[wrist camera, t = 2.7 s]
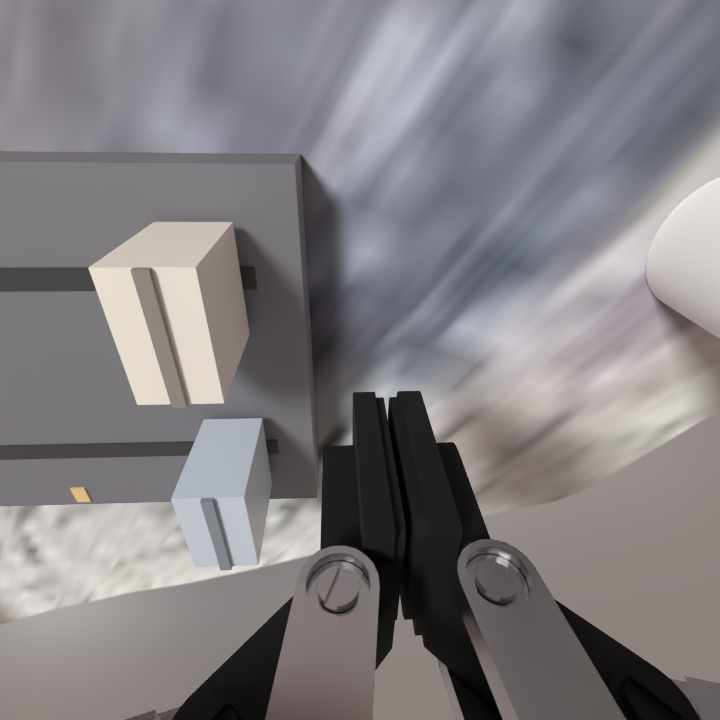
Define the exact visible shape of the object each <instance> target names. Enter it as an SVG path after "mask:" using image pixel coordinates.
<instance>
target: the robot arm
mask: <svg viewBox="0 0 720 720" xmlns="http://www.w3.org/2000/svg"><path fill="white" fill-rule="evenodd" d="M399 595H400V597H401V605H402V612H403V617H404V619H412V620H413V626H414V632H415V635H422V637H423V643H424V647H425V648H426V649H428V650H429V651H430V652H431V653H432V654H433V655H434V656H436V657H437V658H438V663H439V668H440V672H441V675H442V678H443V681H444V684H445V688H446V691H447V693H448V697H449V700H450V703H451V706H452V709H453V712H454V716H455V719H456V720H720V683H716V682H711V681H706V680H701V679H696V678H691V677H687V676H684V677H683V678H682V679H681V680H680V681H679V680H674V679H670V678H668V677H667V676H666V675H665V674H663V673H662V672H661V671H660V670H658V669H657V668H656V667H654V666H653V665H651V664H650V663H648V662H647V661H645V660H644V659H642V658H641V657H639V656H638V655H636V654H635V653H633V652H632V651H630V650H629V649H627V648H626V647H624V646H623V645H622V644H620V643H619V642H617V641H615V640H614V639H613V638H611V637H610V636H608V635H607V634H605V633H604V632H602V631H601V630H599V629H598V628H596V627H595V626H593V625H592V624H590V623H589V622H587V621H586V620H584V619H583V618H581V617H580V616H578V615H577V614H575V613H574V612H572V611H571V610H569V609H568V608H567V607H565V606H563V605H562V604H561V603H559V602H558V601H556V600H555V599H554V598H553V597H552V595H551V593H550V592H549V590H548V588H547V587H546V585H545V583H544V582H543V580H542V578H541V577H540V575H539V573H538V572H537V570H536V568H535V567H534V566H533V564H532V563H531V562H530V560H529V559H528V558H527V557H526V556H525V555H524V554H523V553H522V552H520V551H519V550H518V549H517V548H515V547H512V546H511V545H509V544H507V543H505V542H502V541H497V540H493V539H490V537H489V534H488V532H487V529H486V526H485V523H484V520H483V518H482V515H481V512H480V509H479V507H478V504H477V501H476V498H475V496H474V493H473V490H472V487H471V485H470V482H469V479H468V477H467V474H466V471H465V468H464V466H463V463H462V460H461V457H460V455H459V452H458V449H457V447H456V445H455V444H454V443H453V442H448V443H436V440H435V437H434V434H433V431H432V427H431V424H430V421H429V418H428V414H427V411H426V408H425V405H424V402H423V398H422V395H421V392H420V391H398V392H397V397H390V398H389V408H388V421H387V415H386V409H385V404H384V398H376V396H375V392H353V445H349V446H324V448H323V479H322V515H321V550H319V551H318V552H317V553H315V554H314V555H312V556H311V557H310V558H309V559H308V560H307V562H306V563H305V564H304V565H303V567H302V569H301V571H300V574H299V576H298V579H297V583H296V588H295V592H294V596H293V597H292V598H291V599H290V600H289V601H288V602H287V603H285V605H283V606H282V607H281V608H280V609H279V610H278V611H277V612H276V613H275V614H274V615H273V616H272V617H271V618H270V619H269V620H268V621H267V622H266V623H265V624H264V625H263V626H262V627H261V628H260V629H259V630H258V631H257V632H256V633H255V634H254V635H253V636H251V637H250V638H249V639H248V640H247V641H246V642H245V643H244V644H243V645H242V646H241V647H240V648H239V649H238V650H237V651H236V652H235V653H234V654H233V655H232V656H231V657H230V658H229V659H228V660H227V661H226V662H225V663H224V664H223V665H222V666H221V667H220V668H219V669H218V670H216V671H215V672H214V673H213V674H212V675H211V676H210V677H209V678H208V679H207V680H206V681H205V682H204V683H203V684H202V685H201V686H200V687H199V688H198V689H197V690H196V691H195V692H194V693H193V694H192V695H191V696H190V697H189V698H188V699H187V700H186V701H185V703H184V704H183V705H182V706H180V707H177V708H174V709H171V710H168V711H165V712H162V713H159V714H158V713H157V712H156V710H152V711H149V712H146V713H143V714H140V715H137V716H134V717H132V718H128V719H125V720H373V703H374V685H375V684H374V683H375V670H376V669H377V668H378V666H379V665H380V664H381V662H382V661H383V660H384V658H385V657H386V656H387V654H388V653H389V652H390V650H391V649H392V643H393V634H394V624H395V620H397V613H398V604H399Z"/></svg>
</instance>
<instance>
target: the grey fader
mask: <svg viewBox="0 0 720 720" xmlns="http://www.w3.org/2000/svg"><path fill="white" fill-rule="evenodd" d="M271 487H272V479H271V472H270V466H269V459H268V452H267V446H266V439H265V432H264V426H263V419H262V418H244V419H204V420H203V422H202V425H201V427H200V430H199V432H198V435H197V437H196V439H195V442H194V444H193V447H192V449H191V452H190V454H189V456H188V459H187V461H186V464H185V466H184V468H183V471H182V473H181V476H180V478H179V481H178V483H177V485H176V488H175V490H174V493H173V495H172V498H171V501H172V503H173V506H174V509H175V512H176V514H177V517H178V520H179V523H180V526H181V528H182V531H183V534H184V537H185V540H186V542H187V545H188V548H189V551H190V554H191V556H192V559H193V562H194V565H195V567H216V566H220V570H231V569H232V566H245V565H258V564H259V558H260V552H261V546H262V540H263V534H264V528H265V522H266V517H267V511H268V505H269V499H270V493H271Z"/></svg>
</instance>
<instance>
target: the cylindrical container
mask: <svg viewBox="0 0 720 720" xmlns="http://www.w3.org/2000/svg"><path fill="white" fill-rule="evenodd" d="M645 268H646V280H647V283H648V286H649V288H650V290H651V292H652V293H653V294H654V296H655V297H656V298H658V299H659V300H660V301H661V302H663V303H664V304H666V305H667V306H669V307H671V308H672V309H674V310H675V311H677V312H678V313H680V314H681V315H683V316H684V317H686V318H688V319H689V320H691V321H692V322H694V323H695V324H697V325H698V326H700V327H702V328H703V329H705V330H706V331H708V332H709V333H711V334H712V335H714V336H716V337H717V338H719V339H720V177H719V178H716V179H714V180H712V181H710V182H708V183H707V184H705V185H703V186H702V187H700V188H699V189H697V190H695V191H694V192H693V193H692V194H690V195H689V196H688V197H687V198H685V199H684V200H683V201H682V202H681V203H680V204H679V205H678V206H677V207H676V208H675V209H674V210H673V211H672V212H671V213H670V214H669V216H668V217H667V218H666V220H665V221H664V222H663V224H662V225H661V226H660V228H659V230H658V232H657V233H656V235H655V237H654V239H653V241H652V243H651V246H650V249H649V251H648V255H647V261H646V266H645Z"/></svg>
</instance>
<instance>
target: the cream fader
mask: <svg viewBox="0 0 720 720" xmlns="http://www.w3.org/2000/svg"><path fill="white" fill-rule="evenodd" d="M88 268H89V271H90V274H91V277H92V280H93V282H94V285H95V288H96V291H97V294H98V296H99V299H100V302H101V305H102V308H103V310H104V313H105V316H106V319H107V321H108V324H109V327H110V330H111V333H112V335H113V338H114V341H115V344H116V347H117V349H118V352H119V355H120V358H121V361H122V363H123V366H124V369H125V372H126V375H127V377H128V380H129V383H130V386H131V389H132V391H133V394H134V397H135V400H136V403H137V405H165V404H171V407H172V408H187V406H188V404H223V403H225V400H226V397H227V395H228V392H229V389H230V386H231V384H232V381H233V378H234V375H235V373H236V370H237V367H238V365H239V362H240V359H241V356H242V354H243V351H244V348H245V346H246V343H247V340H248V337H249V335H250V333H249V326H248V320H247V313H246V306H245V300H244V293H243V286H242V280H241V273H240V267H239V260H238V253H237V247H236V240H235V233H234V227H233V222H153V223H152V224H150V225H149V226H147V227H146V228H145V229H143V230H142V231H140V232H139V233H137V234H136V235H134V236H133V237H132V238H130V239H129V240H127V241H126V242H124V243H123V244H122V245H120V246H119V247H117V248H116V249H114V250H113V251H111V252H110V253H109V254H107V255H106V256H104V257H103V258H101V259H100V260H99V261H97V262H96V263H94V264H93V265H91V266H90V267H88Z"/></svg>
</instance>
